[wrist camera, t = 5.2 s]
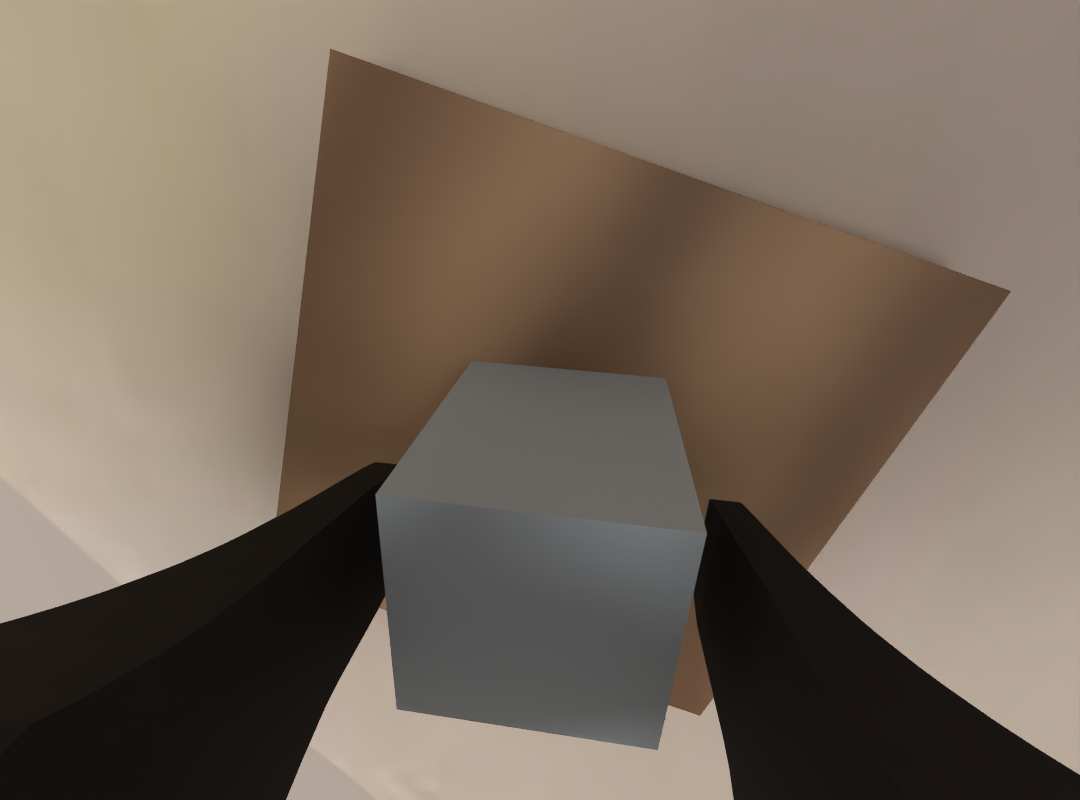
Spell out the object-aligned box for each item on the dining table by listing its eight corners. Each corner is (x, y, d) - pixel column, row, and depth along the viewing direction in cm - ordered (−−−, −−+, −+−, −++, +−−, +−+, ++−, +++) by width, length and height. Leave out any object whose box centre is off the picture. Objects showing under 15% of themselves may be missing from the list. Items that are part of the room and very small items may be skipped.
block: (665, 377, 12) (707, 534, 7) (640, 536, 14) (657, 749, 9) (471, 360, 12) (375, 494, 7) (472, 516, 14) (396, 709, 9)
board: (949, 272, 12) (1011, 291, 10) (691, 660, 18) (700, 715, 16) (373, 67, 12) (330, 48, 10) (305, 529, 18) (270, 571, 16)
